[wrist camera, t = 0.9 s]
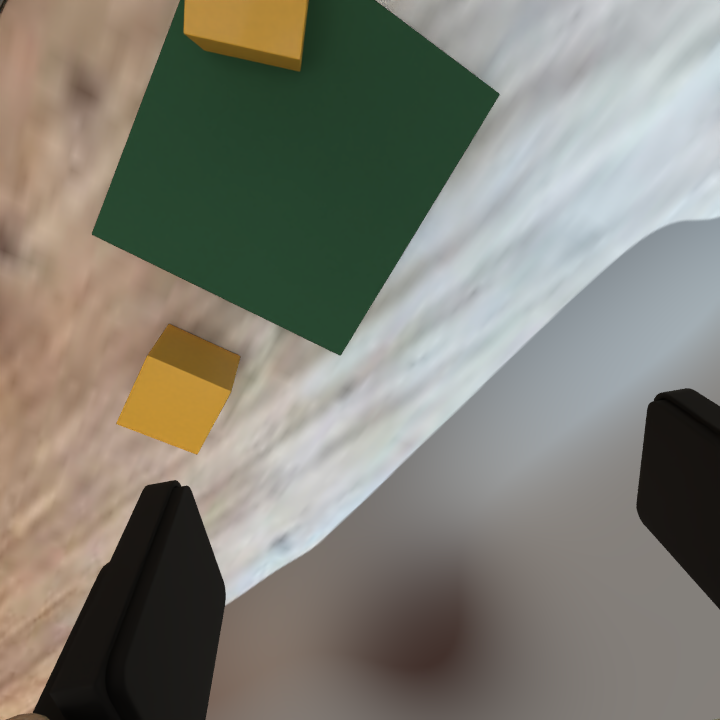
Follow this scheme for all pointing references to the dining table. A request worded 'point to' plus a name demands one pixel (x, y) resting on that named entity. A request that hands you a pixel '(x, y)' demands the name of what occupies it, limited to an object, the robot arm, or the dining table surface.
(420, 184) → the towel
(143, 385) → the yellow block
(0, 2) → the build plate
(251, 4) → the yellow block
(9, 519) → the dining table surface
